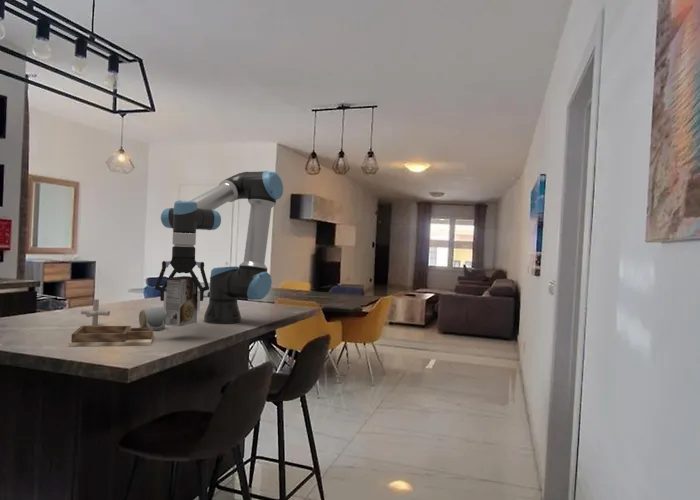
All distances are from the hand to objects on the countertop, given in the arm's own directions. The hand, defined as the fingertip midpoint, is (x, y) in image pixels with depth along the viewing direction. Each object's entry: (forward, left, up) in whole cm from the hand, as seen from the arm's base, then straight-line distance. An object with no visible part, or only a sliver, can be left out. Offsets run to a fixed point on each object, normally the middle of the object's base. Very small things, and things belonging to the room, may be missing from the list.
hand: (181, 310), depth 172 cm
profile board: (+20, +3, -9) cm, 23 cm away
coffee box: (0, 0, -5) cm, 5 cm away
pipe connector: (+30, -25, -10) cm, 40 cm away
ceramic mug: (+10, -20, -10) cm, 24 cm away
